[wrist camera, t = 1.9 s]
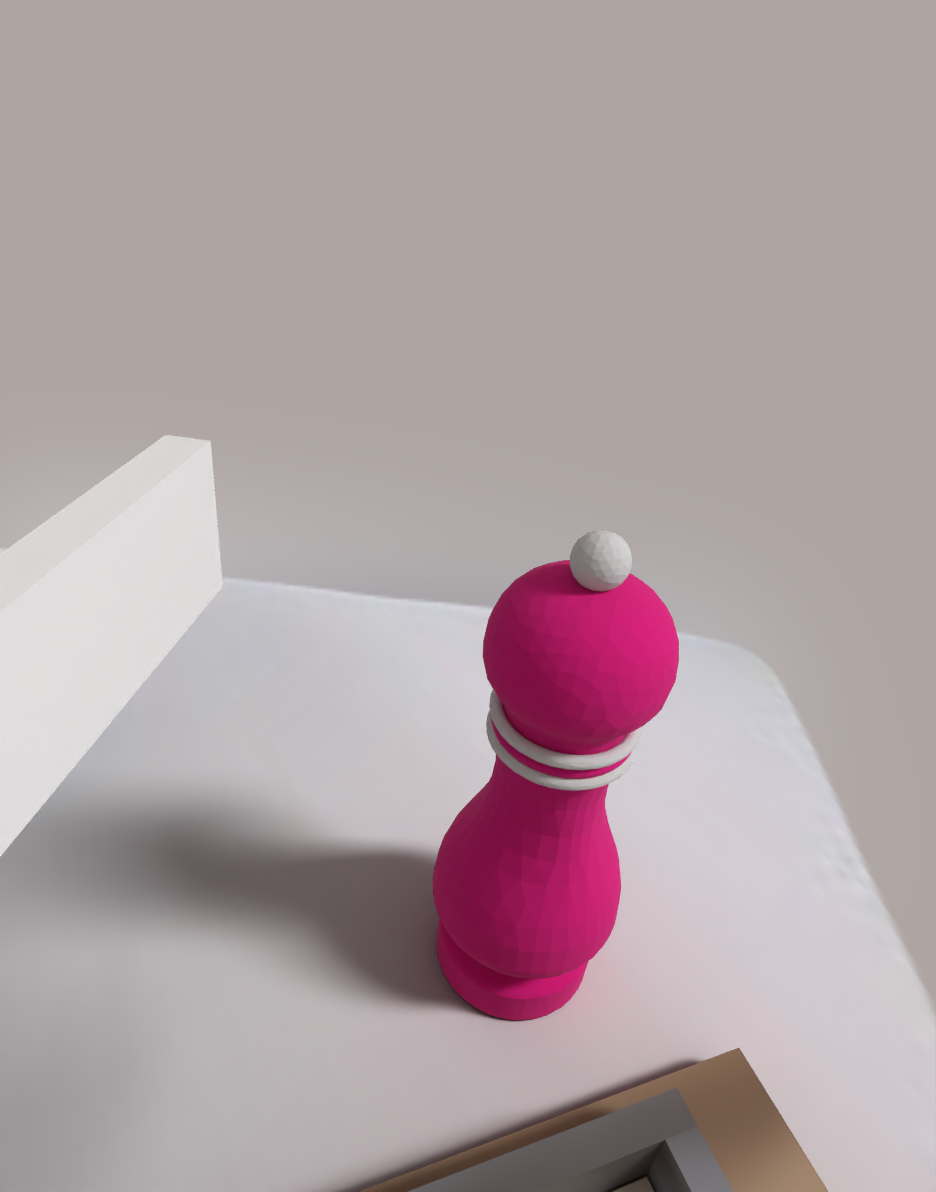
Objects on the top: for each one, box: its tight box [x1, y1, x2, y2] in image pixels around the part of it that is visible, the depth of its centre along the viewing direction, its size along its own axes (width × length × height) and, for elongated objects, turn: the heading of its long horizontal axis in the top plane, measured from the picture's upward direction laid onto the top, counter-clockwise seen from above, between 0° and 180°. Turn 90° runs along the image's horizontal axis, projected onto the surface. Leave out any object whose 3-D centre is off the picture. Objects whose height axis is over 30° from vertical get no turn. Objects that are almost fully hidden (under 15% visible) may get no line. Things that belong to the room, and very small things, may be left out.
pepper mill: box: [433, 530, 679, 1020], centre depth 29 cm, size 7×7×20 cm
